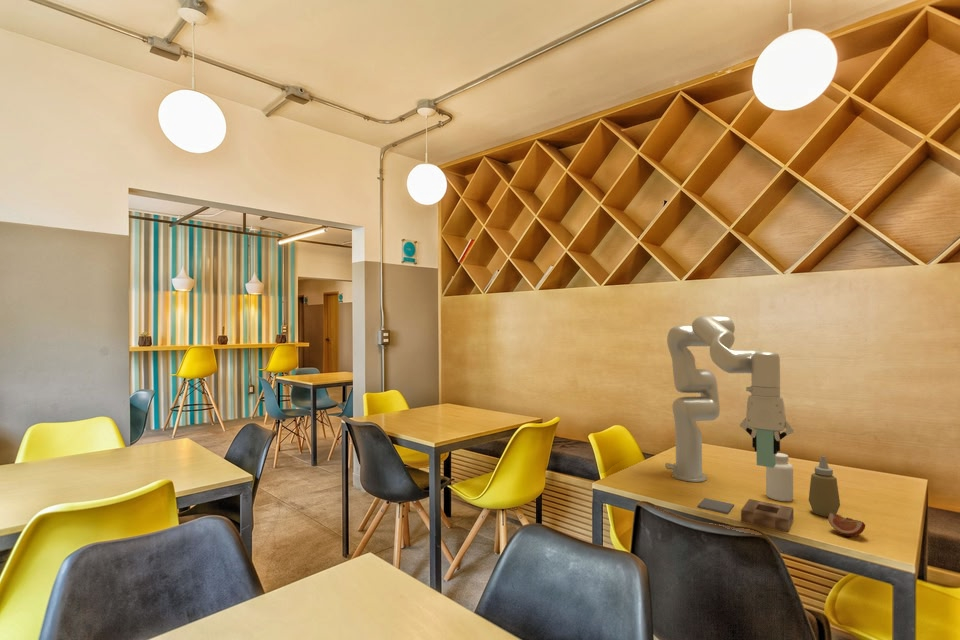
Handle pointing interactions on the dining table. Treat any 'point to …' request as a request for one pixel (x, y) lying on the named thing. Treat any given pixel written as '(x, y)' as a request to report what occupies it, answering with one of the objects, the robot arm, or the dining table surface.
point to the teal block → (765, 448)
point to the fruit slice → (846, 525)
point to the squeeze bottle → (824, 490)
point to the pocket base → (767, 515)
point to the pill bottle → (780, 479)
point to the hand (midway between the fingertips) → (766, 451)
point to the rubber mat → (715, 505)
